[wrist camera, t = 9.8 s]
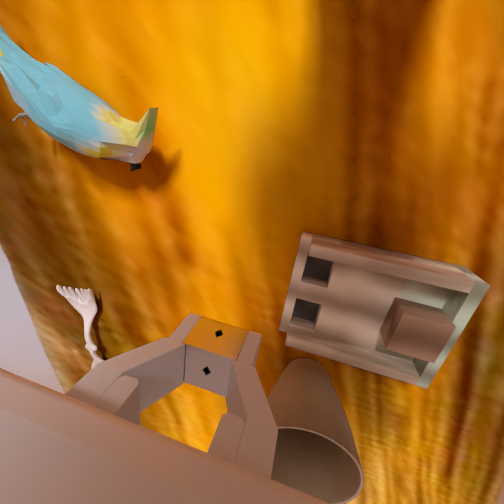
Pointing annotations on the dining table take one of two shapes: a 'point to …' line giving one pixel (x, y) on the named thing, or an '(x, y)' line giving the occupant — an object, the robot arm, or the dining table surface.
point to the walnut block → (416, 329)
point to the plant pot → (313, 435)
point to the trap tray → (370, 303)
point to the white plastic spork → (84, 314)
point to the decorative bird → (73, 110)
